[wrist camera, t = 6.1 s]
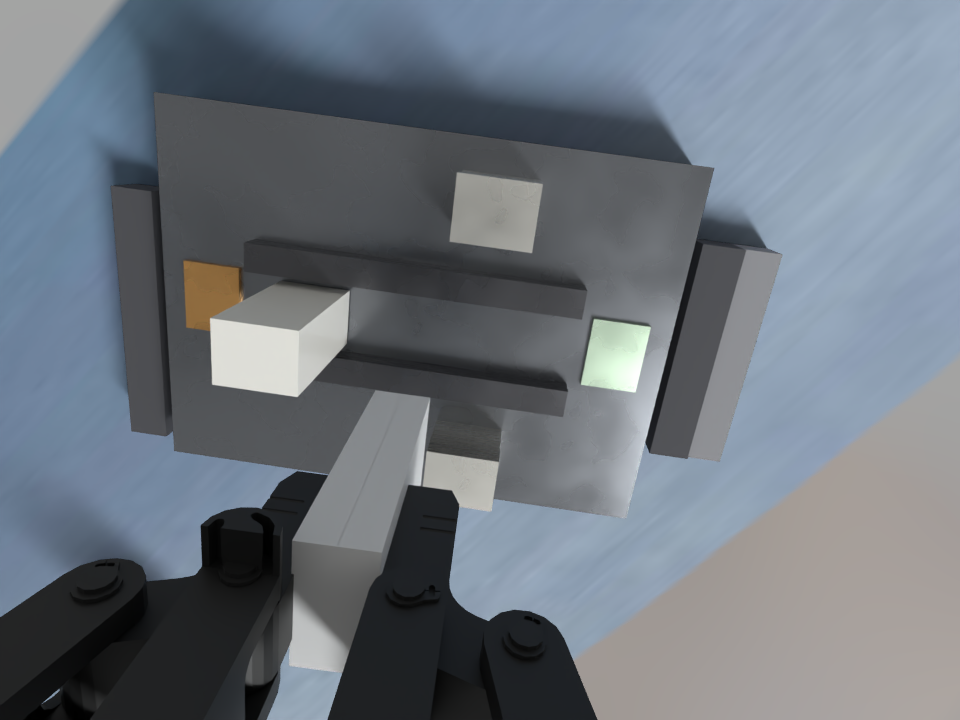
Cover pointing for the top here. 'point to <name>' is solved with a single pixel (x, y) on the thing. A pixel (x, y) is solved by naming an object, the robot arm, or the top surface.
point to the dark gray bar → (143, 306)
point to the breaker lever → (279, 338)
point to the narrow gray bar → (711, 348)
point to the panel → (430, 293)
